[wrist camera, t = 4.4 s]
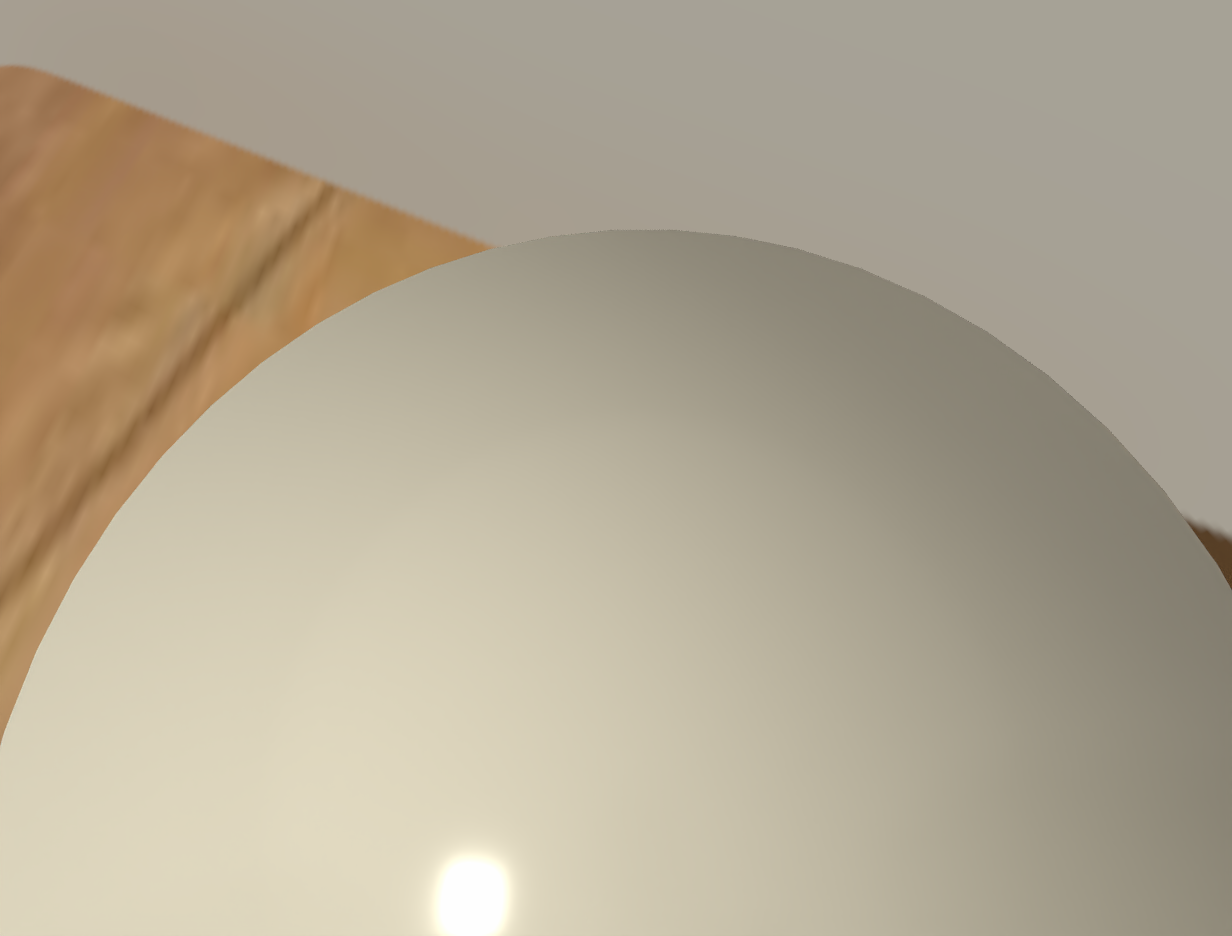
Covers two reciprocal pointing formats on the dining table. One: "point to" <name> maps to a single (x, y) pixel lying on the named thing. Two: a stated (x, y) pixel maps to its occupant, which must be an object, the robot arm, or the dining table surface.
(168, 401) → the dining table surface
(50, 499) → the dining table surface
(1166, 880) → the white rounded tapered cylinder
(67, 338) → the dining table surface
